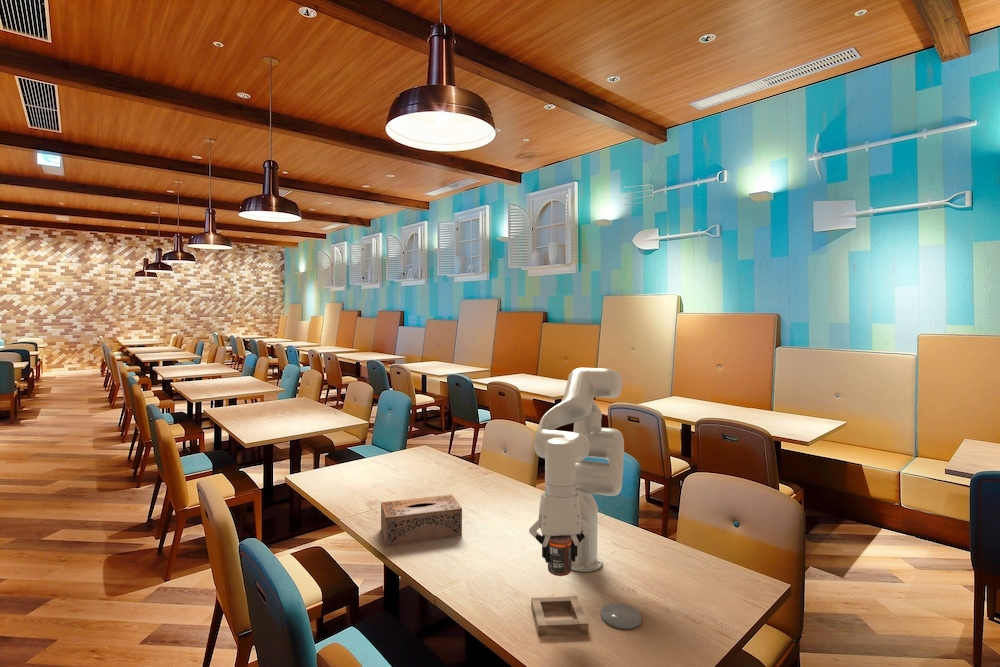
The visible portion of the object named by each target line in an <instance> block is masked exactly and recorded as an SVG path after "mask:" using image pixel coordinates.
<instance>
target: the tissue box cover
mask: <svg viewBox="0 0 1000 667" xmlns="http://www.w3.org/2000/svg"><path fill="white" fill-rule="evenodd" d="M380 530H381V534H382V538H383V542H384V545H385V547H386V548H387V546H389V547H394V546H402V545H408V544H415V543H416V544H417V543H422V542H430V541H436V540H437V541H438V540H444V539H450V538H451V539H452V538H453V539H454V538H458V537H459V536H460V537H463V536H462V535H463V508H462V506H461V505H460V504H459V502H458V500H457V499H456V498H455V497H454V495H453V494H444V495H434V496H425V497H424V496H423V497H418V498H408V499H407V498H406V499H398V500H390V501H389V500H388V501H382V502H380Z"/></svg>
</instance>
